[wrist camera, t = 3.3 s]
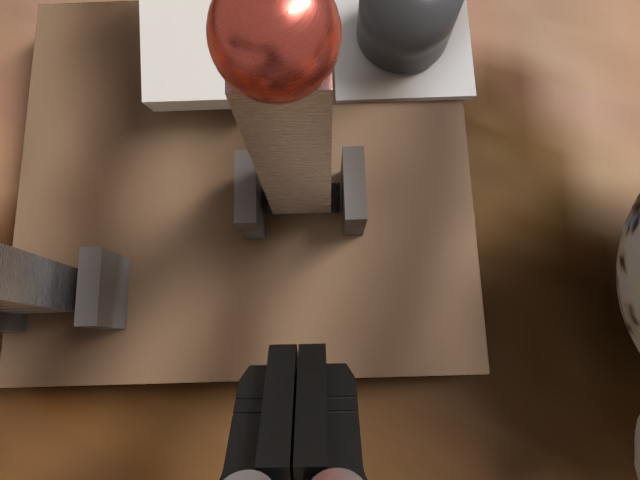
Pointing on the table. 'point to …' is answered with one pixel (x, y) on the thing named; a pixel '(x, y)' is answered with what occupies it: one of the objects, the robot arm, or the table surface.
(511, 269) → the table surface
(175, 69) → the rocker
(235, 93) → the red toggle
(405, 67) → the button
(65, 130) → the panel
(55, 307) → the grey metal bar
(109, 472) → the table surface
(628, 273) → the teacup
